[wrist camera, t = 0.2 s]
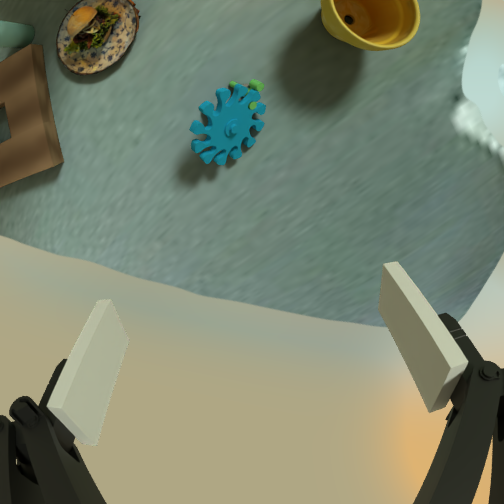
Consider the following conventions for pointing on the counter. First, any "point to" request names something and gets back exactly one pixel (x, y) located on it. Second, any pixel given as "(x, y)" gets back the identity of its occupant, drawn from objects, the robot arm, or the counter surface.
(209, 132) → the gear
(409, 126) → the counter surface
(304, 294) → the counter surface
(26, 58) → the walnut hole board
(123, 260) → the counter surface
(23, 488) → the robot arm
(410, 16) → the plant pot
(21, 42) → the short teal pin
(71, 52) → the burger
